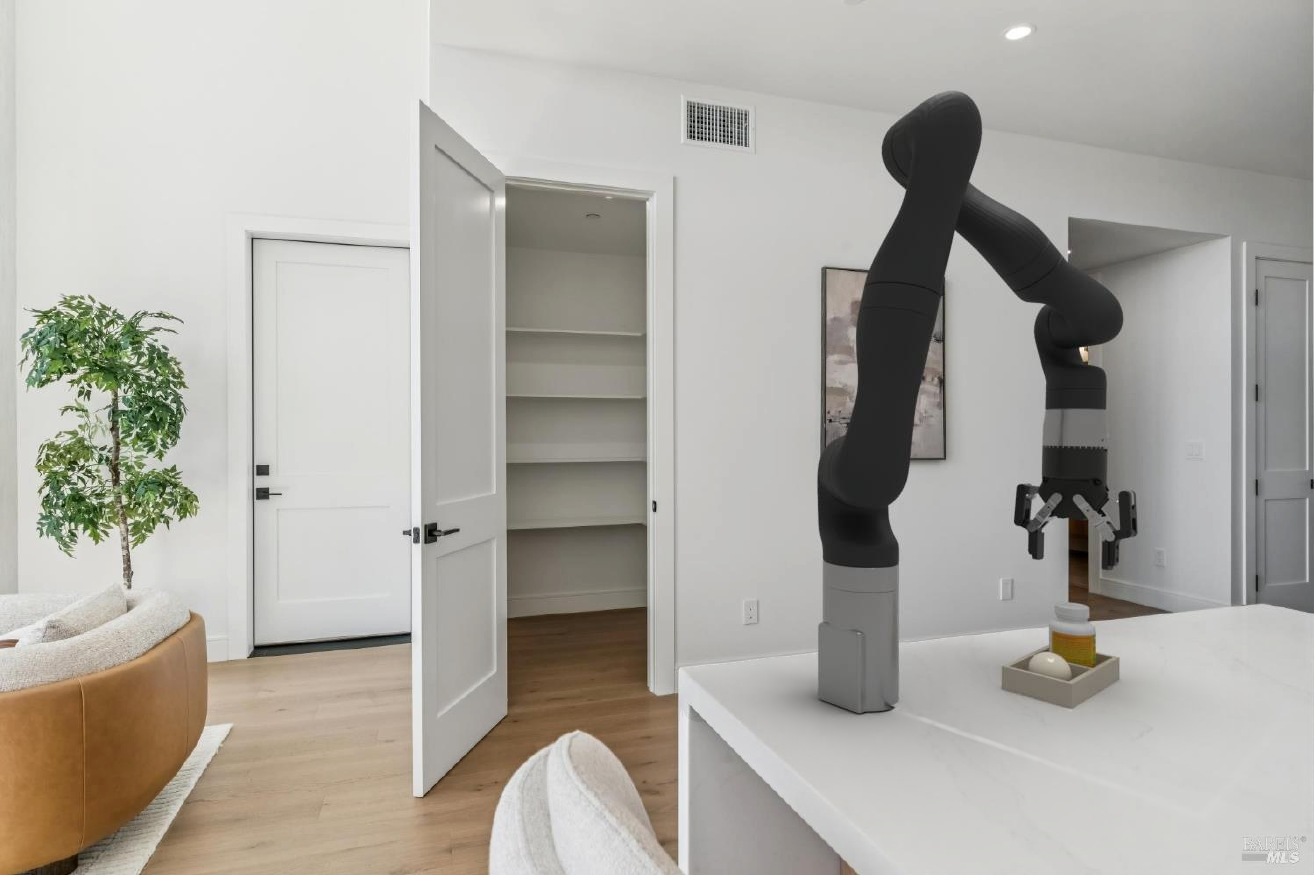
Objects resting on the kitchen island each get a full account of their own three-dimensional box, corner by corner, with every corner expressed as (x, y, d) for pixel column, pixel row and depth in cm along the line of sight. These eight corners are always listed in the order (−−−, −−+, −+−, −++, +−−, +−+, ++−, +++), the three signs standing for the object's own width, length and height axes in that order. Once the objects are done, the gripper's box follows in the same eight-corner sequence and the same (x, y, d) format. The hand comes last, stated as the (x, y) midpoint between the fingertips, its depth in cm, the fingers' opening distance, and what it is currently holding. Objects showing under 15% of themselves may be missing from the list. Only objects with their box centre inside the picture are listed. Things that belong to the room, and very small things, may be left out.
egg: (1062, 700, 84) (1062, 661, 84) (1021, 689, 88) (1021, 651, 88) (1077, 691, 87) (1077, 653, 87) (1037, 681, 91) (1037, 644, 91)
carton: (1072, 713, 82) (1072, 684, 81) (1001, 693, 88) (1001, 666, 88) (1119, 683, 91) (1119, 657, 91) (1053, 667, 98) (1053, 642, 98)
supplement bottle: (1103, 686, 89) (1103, 611, 89) (1057, 683, 90) (1057, 609, 90) (1086, 672, 94) (1085, 601, 94) (1043, 670, 95) (1042, 599, 95)
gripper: (1007, 442, 95) (1004, 558, 95) (1126, 444, 84) (1123, 576, 84) (1030, 443, 100) (1028, 554, 100) (1146, 445, 89) (1143, 570, 89)
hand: (1071, 564), depth 92 cm, fingers open, 8 cm apart
